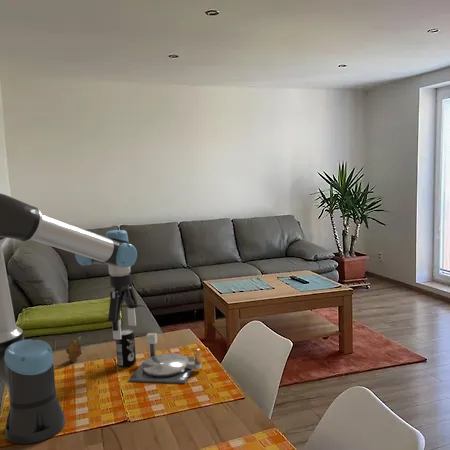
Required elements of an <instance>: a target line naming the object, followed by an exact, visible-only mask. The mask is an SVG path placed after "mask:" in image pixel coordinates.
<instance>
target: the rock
mask: <svg viewBox="0 0 450 450" xmlns="http://www.w3.org/2000/svg"><path fill="white" fill-rule="evenodd" d="M79 342H81V343H82V342H83V339H82V336H79V337H77V340H75V339H73V340H70V342H69V345H68V346H67V348H65V351H66V353H67V355H68V357H67V359H68V360H69V361H71V362H72V363H74V362H76V361H77V359H78V358H79V357H80V356H81V355H82V354H83V353H82V349H81V345H80V344H79Z"/></svg>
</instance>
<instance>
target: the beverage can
mask: <svg viewBox="0 0 450 450" xmlns="http://www.w3.org/2000/svg"><path fill="white" fill-rule="evenodd" d="M121 337H122V339H115V347H116V350H115V351H116V360H117V361H116V363H117V366H119V367H121V368H130V367H132V366H134V365H135V364H136V362H137V358H136V357H137V356H136V343H135V342H136V341H135V334H134V332H133V330H132V329H128V328H126V329H125V328H123V329H121Z"/></svg>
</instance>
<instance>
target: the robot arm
mask: <svg viewBox="0 0 450 450" xmlns="http://www.w3.org/2000/svg"><path fill="white" fill-rule="evenodd" d="M7 239H14V240H18V241H21V242H29V241H34V242H37V243H40V244H43V245H47V246H50V247H54V248H57V249H61V250H64V251H66V252H70V253H73V254H75V255H74V257H75V259H76V262H77V263H78V265H80V266H84V267H85V266H91V265H93V264H94V265H95V264H97V265H104V266H108V273H109V284H110V285H109V286H111V287H113V288H114V291H110V292H109V295H110V296H109V297H110V298H109V299H110V300H109V309H108V316H107V317H108V318H107V319H108V320H107V321H108V322H111V327H112V339H113V340H116V339H122V337H121V330H122V328H121V326H122V325H121V319H120V316H121V312H122V306H123V304H124V303H125V304H126V306H127V307H128V308H127V310H126V312H127V322H128V326H129V327H136V326H137V318H136V317H137V316H136V309H137V308H138V301H137V298H136V294H135V291H134V289H133V280H132V273H131V272H132V271H131V267H132V266H134V265H135V263H136V261H137V258H138V252H137V248H136V247H135V245H133V244H131V243H130V242H129V236H128V232H127V231H126V230H125V229H114V230H113V229H111V230H109V231H108V230H107V231H106V232H105V236H103V235H100V234H98V233H96V232H93V231H90V230H88V229H85V228H82V227H79V226H76V225H74V224H71V223H68V222H65V221H63V220H60V219H57V218H55V217H52V216H49V215H48V214H47V215H46V214H44V213H41V210H40V208H38V207H36V206H33V205H31V204H28V203H26V202H24V201H21V200H19V199H16V198H14V197H11V196H10V195H8V194H7V195H6V194H4V193H0V385H3V386H5V387H7V389H8V391H7V392H8V399H9V409H8V415H7V418H6V423H5V427H4V429H5V430H4V432H5V437H6V438H5V439H6V440H7V441H8V442H10V443H12V444H16V445H29V444H35V443H39V442H42V441H45V440H48V439H50V438H52V437H53V436H56V435H58V434H59V433H60V432H61V431H63V429H64V427H65V425H66V414H65V412H64V410H63V408H62V406H61V403H60V401H59V400H58V397H57V391H56V389H57V388H56V379H55V378H56V377H55V368H54V361H55V359H54V355H53V351H52V347H51V345H50V344H49V343H48V342H46V341H44V340H42V339H41V340H40V339H34V340H33V339H25V336H24V331H23V328H21V327H20V326H18V325H16V318H15V314H14V306H13V301H12V296H11V295H12V294H11V290H10V285H9V279H8V273H7V269H6V262H5V257H4V256H5V255H4V252H3V251H4V250H3V244H4V242H5V241H6V240H7Z"/></svg>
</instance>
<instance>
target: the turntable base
mask: <svg viewBox="0 0 450 450" xmlns="http://www.w3.org/2000/svg"><path fill="white" fill-rule="evenodd" d="M145 337H146V344H148V345H149V353H150V355H148V356H147V357H146V359H148V358H150V357H152V356H155V355H157V354H156V344H157V343H158V342H159V341H158V333H157V332H148V333H147V334H146V335H145ZM186 357H187V358H188V359H189V362H195V360H194V356H186ZM194 370H195V369H186V370H185V371H183V372H181V373H178V374H175V375H171V376H151V375H147V374H145V373H144V372H143V370H142V363H141V365H139V366H138V368H137V369H136V370H135V371H134V372H133V374H131V375H130V377H129V378H128V379H129V382H136V383H137V382H139V383H140V382H142V383H145V382H146V383H162V384H163V383H166V384H186V383H187V381H188V380H189V377H190V376H191V375H192V373H193V371H194Z"/></svg>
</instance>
